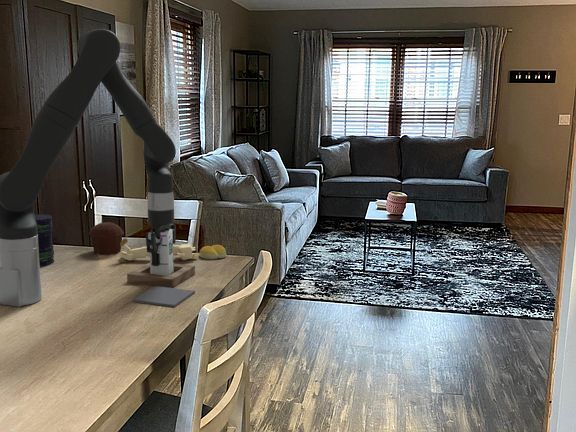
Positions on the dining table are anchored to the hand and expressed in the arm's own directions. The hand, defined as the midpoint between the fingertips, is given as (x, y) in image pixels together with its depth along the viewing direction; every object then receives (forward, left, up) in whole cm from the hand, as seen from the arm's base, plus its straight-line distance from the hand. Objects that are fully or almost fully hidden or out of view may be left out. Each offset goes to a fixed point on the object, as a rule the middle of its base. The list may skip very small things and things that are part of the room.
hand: (161, 262), depth 170 cm
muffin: (+20, +32, -5) cm, 38 cm away
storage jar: (0, +44, -5) cm, 44 cm away
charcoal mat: (-15, -9, -5) cm, 18 cm away
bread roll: (+28, -4, -5) cm, 29 cm away
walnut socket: (0, 0, -5) cm, 5 cm away
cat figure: (+17, +10, -5) cm, 21 cm away
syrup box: (0, 0, -5) cm, 5 cm away
